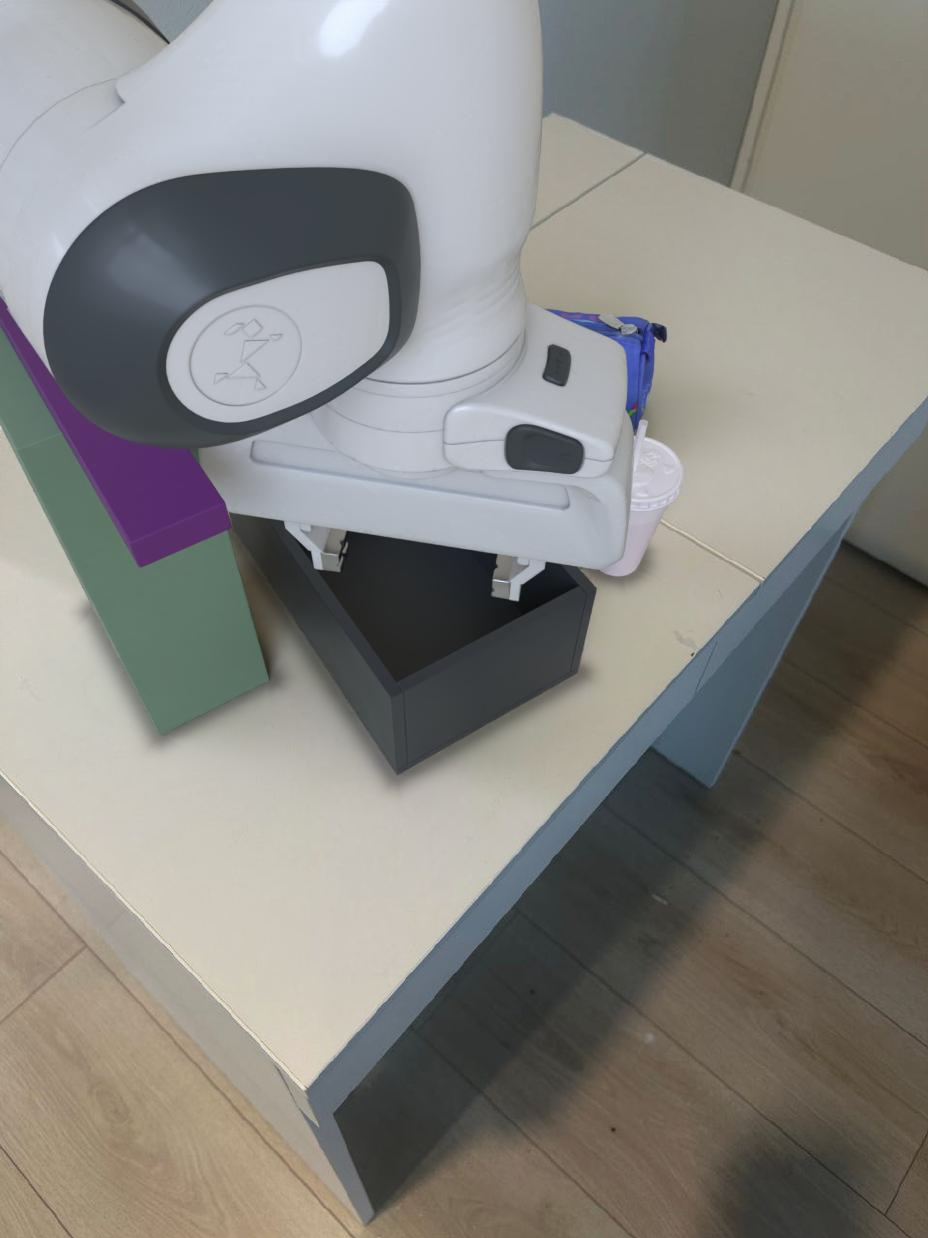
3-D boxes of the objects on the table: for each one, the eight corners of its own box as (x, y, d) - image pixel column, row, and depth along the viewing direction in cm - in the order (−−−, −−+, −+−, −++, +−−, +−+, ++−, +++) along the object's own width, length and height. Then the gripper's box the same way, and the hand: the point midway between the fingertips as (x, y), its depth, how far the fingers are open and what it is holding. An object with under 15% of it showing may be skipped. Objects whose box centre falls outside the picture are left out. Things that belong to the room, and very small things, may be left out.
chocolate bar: (139, 569, 37) (128, 543, 36) (-21, 289, 47) (-34, 260, 46) (233, 528, 39) (225, 502, 37) (57, 264, 49) (47, 236, 47)
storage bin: (397, 776, 61) (391, 698, 53) (233, 529, 73) (208, 434, 65) (578, 673, 66) (597, 588, 58) (397, 457, 77) (392, 361, 69)
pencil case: (654, 387, 83) (677, 294, 75) (645, 456, 78) (668, 363, 70) (410, 349, 85) (407, 254, 77) (386, 413, 80) (380, 319, 73)
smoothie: (555, 553, 72) (578, 414, 60) (613, 512, 74) (645, 371, 63) (617, 605, 69) (653, 469, 58) (675, 560, 72) (720, 422, 60)
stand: (159, 736, 62) (16, 450, 41) (94, 610, 68) (-62, 302, 47) (270, 681, 65) (188, 384, 44) (197, 564, 70) (95, 252, 49)
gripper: (142, 383, 38) (210, 591, 49) (654, 457, 36) (602, 655, 47) (196, 288, 41) (247, 502, 53) (664, 351, 40) (613, 559, 51)
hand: (418, 575), depth 50 cm, fingers open, 8 cm apart
